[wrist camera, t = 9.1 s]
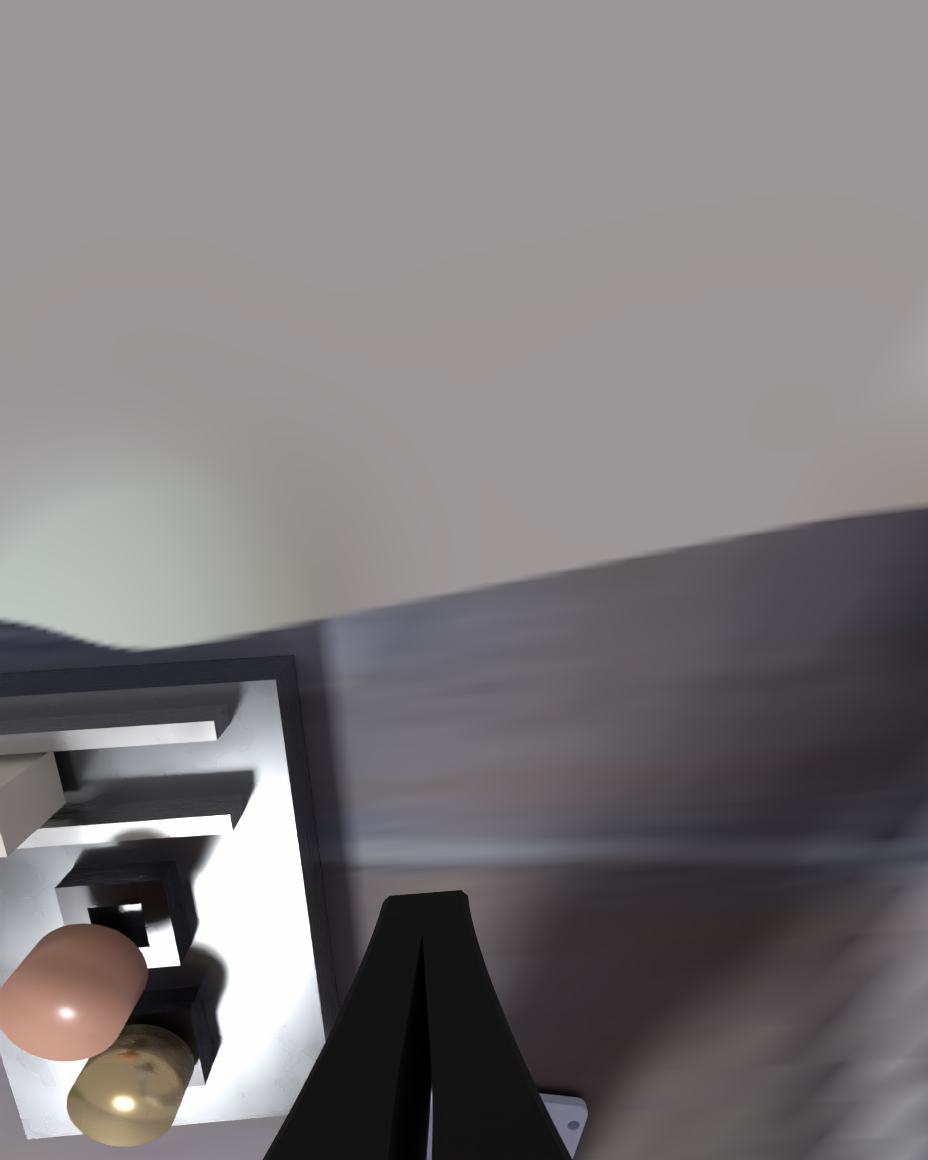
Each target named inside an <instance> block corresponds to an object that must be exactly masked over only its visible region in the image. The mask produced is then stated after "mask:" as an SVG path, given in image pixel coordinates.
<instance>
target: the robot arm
mask: <svg viewBox="0 0 928 1160" xmlns="http://www.w3.org/2000/svg"><path fill="white" fill-rule="evenodd" d="M587 1117H588V1111H587V1107H586V1103H585V1101H584V1100H582V1099H581V1098H578V1097H570V1096H561V1095H552V1094H543V1093H539V1092H538V1090H537V1088H536V1086H535V1083H534V1081H533V1079H532V1077H531V1075H530V1073H529V1070H528V1068H527V1066H526V1064H525V1062H524V1060H523V1057H522V1055H521V1053H520V1051H519V1049H518V1046H517V1044H516V1042H515V1039H514V1037H513V1035H512V1032H511V1030H510V1028H509V1025H508V1023H507V1020H506V1018H505V1015H504V1013H503V1010H502V1008H501V1005H500V1003H499V1000H498V998H497V995H496V992H495V990H494V987H493V985H492V982H491V979H490V977H489V974H488V971H487V968H486V965H485V962H484V959H483V956H482V953H481V950H480V947H479V944H478V940H477V937H476V933H475V930H474V926H473V922H472V918H471V913H470V908H469V901H468V895H466V894H465V893H464V892H463V891H462V890H458V891H445V892H432V893H420V894H407V895H394V896H389V897H388V898H387V899H386V900H385V901H384V902H383V905H382V908H381V911H380V915H379V918H378V921H377V923H376V926H375V929H374V932H373V935H372V937H371V940H370V943H369V945H368V948H367V950H366V953H365V955H364V958H363V960H362V963H361V965H360V967H359V970H358V972H357V975H356V977H355V979H354V982H353V984H352V986H351V988H350V990H349V993H348V995H347V997H346V999H345V1001H344V1004H343V1006H342V1008H341V1010H340V1012H339V1015H338V1017H337V1019H336V1021H335V1023H334V1026H333V1028H332V1030H331V1032H330V1034H329V1036H328V1038H327V1040H326V1042H325V1044H324V1046H323V1048H322V1050H321V1052H320V1054H319V1056H318V1058H317V1060H316V1062H315V1064H314V1066H313V1068H312V1069H311V1071H310V1073H309V1075H308V1077H307V1079H306V1081H305V1083H304V1085H303V1087H302V1089H301V1091H300V1093H299V1095H298V1097H297V1099H296V1101H295V1103H294V1104H293V1106H292V1108H291V1110H290V1112H289V1114H288V1116H287V1117H286V1119H285V1121H284V1123H283V1125H282V1126H281V1128H280V1130H279V1132H278V1134H277V1135H276V1137H275V1139H274V1141H273V1143H272V1144H271V1146H270V1148H269V1150H268V1151H267V1153H266V1155H265V1157H264V1158H263V1160H573V1157H574V1154H575V1151H576V1149H577V1146H578V1143H579V1140H580V1137H581V1134H582V1131H583V1128H584V1126H585V1123H586V1120H587Z"/></svg>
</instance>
